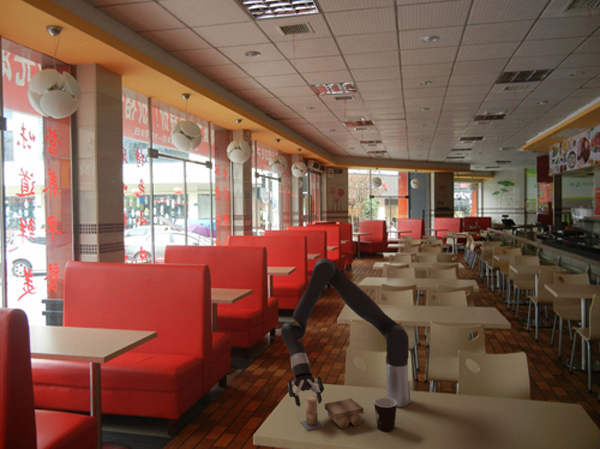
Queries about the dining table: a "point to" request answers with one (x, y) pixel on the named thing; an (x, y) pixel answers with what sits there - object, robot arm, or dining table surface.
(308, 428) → the mat
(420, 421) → the dining table surface
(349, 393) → the dining table surface
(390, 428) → the coffee mug
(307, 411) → the roller
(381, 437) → the dining table surface
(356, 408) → the slab
